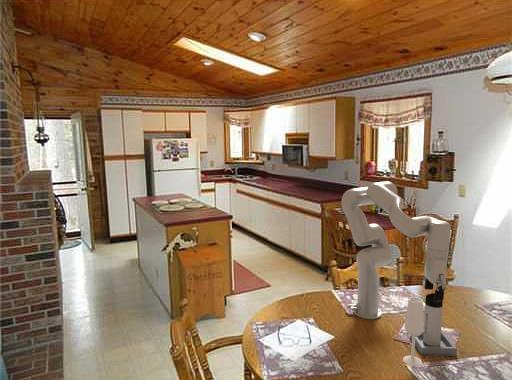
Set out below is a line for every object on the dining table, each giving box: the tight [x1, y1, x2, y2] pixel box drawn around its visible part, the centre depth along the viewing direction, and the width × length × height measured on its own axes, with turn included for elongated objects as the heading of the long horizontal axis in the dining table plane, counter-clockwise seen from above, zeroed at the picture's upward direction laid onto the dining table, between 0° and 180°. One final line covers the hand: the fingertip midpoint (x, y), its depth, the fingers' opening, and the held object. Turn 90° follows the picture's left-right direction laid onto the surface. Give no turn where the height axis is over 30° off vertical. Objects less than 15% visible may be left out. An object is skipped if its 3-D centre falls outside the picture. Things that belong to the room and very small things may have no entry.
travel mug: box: [423, 292, 444, 347], centre depth 152 cm, size 6×7×20 cm
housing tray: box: [409, 330, 458, 357], centre depth 153 cm, size 13×13×3 cm
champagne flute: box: [402, 296, 424, 367], centre depth 142 cm, size 7×7×24 cm
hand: (433, 294), depth 151 cm, fingers open, 9 cm apart
